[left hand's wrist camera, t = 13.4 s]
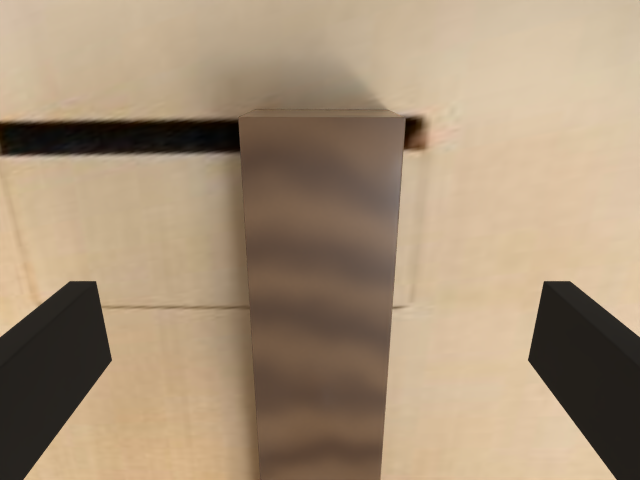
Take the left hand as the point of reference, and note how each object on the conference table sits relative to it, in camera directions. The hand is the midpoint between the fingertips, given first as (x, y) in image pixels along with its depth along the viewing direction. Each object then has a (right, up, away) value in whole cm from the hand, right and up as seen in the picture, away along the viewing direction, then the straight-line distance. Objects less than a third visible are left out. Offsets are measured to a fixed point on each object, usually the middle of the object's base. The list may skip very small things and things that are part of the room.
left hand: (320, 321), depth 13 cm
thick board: (0, -17, +29) cm, 34 cm away
